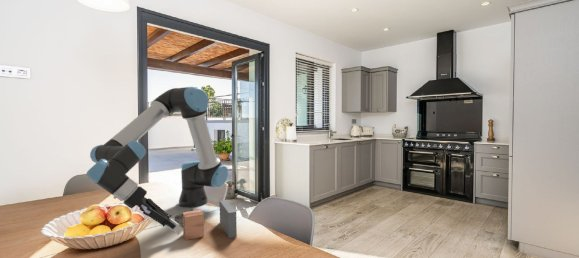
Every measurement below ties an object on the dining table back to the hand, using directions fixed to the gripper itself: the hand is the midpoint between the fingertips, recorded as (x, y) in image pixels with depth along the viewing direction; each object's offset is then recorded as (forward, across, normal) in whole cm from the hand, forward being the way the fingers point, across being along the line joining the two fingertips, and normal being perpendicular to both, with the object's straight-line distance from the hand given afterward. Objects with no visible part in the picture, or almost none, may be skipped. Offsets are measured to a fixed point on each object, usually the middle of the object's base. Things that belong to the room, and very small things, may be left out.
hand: (180, 231), depth 106 cm
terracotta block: (+6, -1, +1) cm, 6 cm away
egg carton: (+5, -20, 0) cm, 20 cm away
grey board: (+15, -1, +11) cm, 19 cm away
